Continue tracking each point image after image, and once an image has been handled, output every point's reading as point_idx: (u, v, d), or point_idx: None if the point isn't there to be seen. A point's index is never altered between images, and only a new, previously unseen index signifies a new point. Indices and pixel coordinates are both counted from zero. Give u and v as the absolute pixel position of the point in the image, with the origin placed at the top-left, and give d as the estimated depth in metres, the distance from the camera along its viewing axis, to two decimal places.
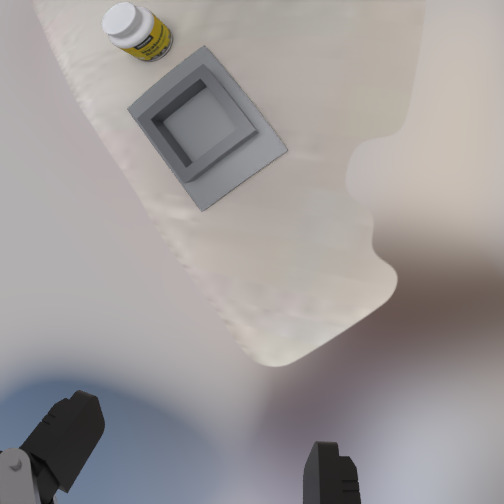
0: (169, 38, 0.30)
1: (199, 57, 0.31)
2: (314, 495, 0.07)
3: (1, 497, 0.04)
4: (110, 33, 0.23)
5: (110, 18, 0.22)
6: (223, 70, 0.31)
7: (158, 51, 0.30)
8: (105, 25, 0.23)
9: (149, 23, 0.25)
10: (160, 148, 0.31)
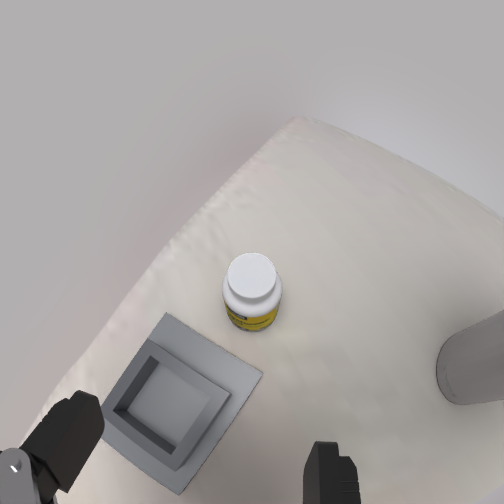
0: (260, 328, 0.32)
1: (245, 374, 0.30)
2: (314, 495, 0.07)
3: (1, 497, 0.04)
4: (228, 274, 0.25)
5: (249, 263, 0.26)
6: (238, 407, 0.28)
7: (238, 325, 0.31)
8: (238, 262, 0.26)
9: (259, 312, 0.26)
10: (123, 376, 0.26)
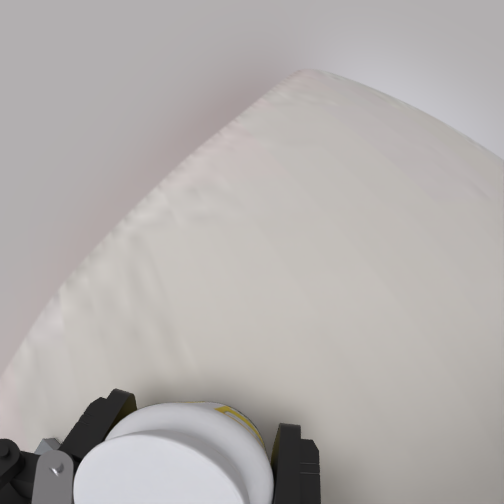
0: None
1: None
2: (274, 475, 0.08)
3: (34, 497, 0.05)
4: (76, 498, 0.04)
5: (144, 479, 0.05)
6: None
7: None
8: (104, 466, 0.05)
9: None
10: None
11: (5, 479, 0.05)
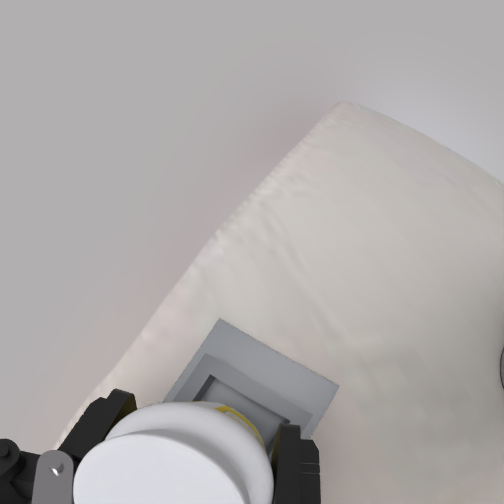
0: None
1: (320, 388, 0.24)
2: (274, 475, 0.08)
3: (34, 497, 0.05)
4: (76, 498, 0.04)
5: (143, 479, 0.05)
6: (312, 427, 0.23)
7: None
8: (103, 465, 0.05)
9: None
10: None
11: (5, 479, 0.05)
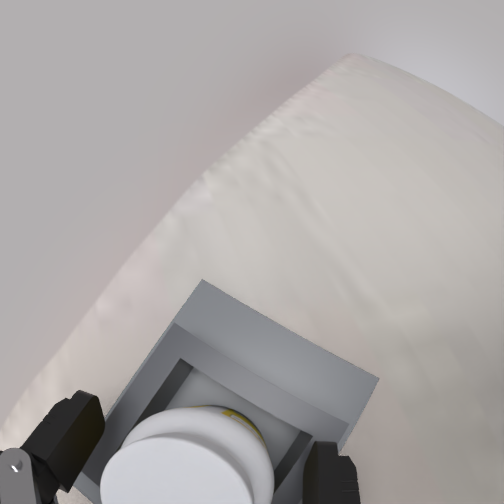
0: None
1: (352, 383, 0.16)
2: (313, 495, 0.07)
3: (1, 497, 0.04)
4: (102, 494, 0.05)
5: (164, 475, 0.06)
6: (341, 441, 0.14)
7: None
8: (128, 465, 0.06)
9: None
10: (123, 401, 0.12)
11: None
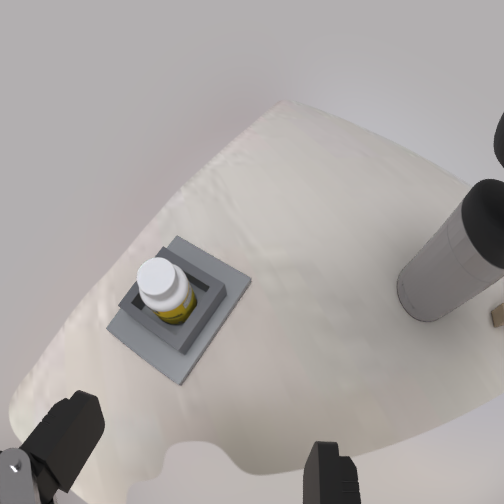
0: (179, 322, 0.36)
1: (237, 278, 0.40)
2: (314, 495, 0.07)
3: (1, 497, 0.04)
4: (137, 275, 0.29)
5: (155, 266, 0.30)
6: (231, 304, 0.38)
7: (160, 318, 0.35)
8: (146, 265, 0.30)
9: (165, 308, 0.31)
10: None
11: None
